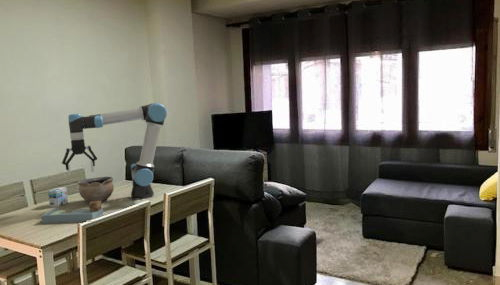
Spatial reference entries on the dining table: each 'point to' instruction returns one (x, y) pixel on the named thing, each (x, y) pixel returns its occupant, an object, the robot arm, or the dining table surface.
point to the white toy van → (58, 196)
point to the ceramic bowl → (96, 188)
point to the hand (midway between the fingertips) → (81, 173)
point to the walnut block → (95, 206)
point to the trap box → (70, 216)
